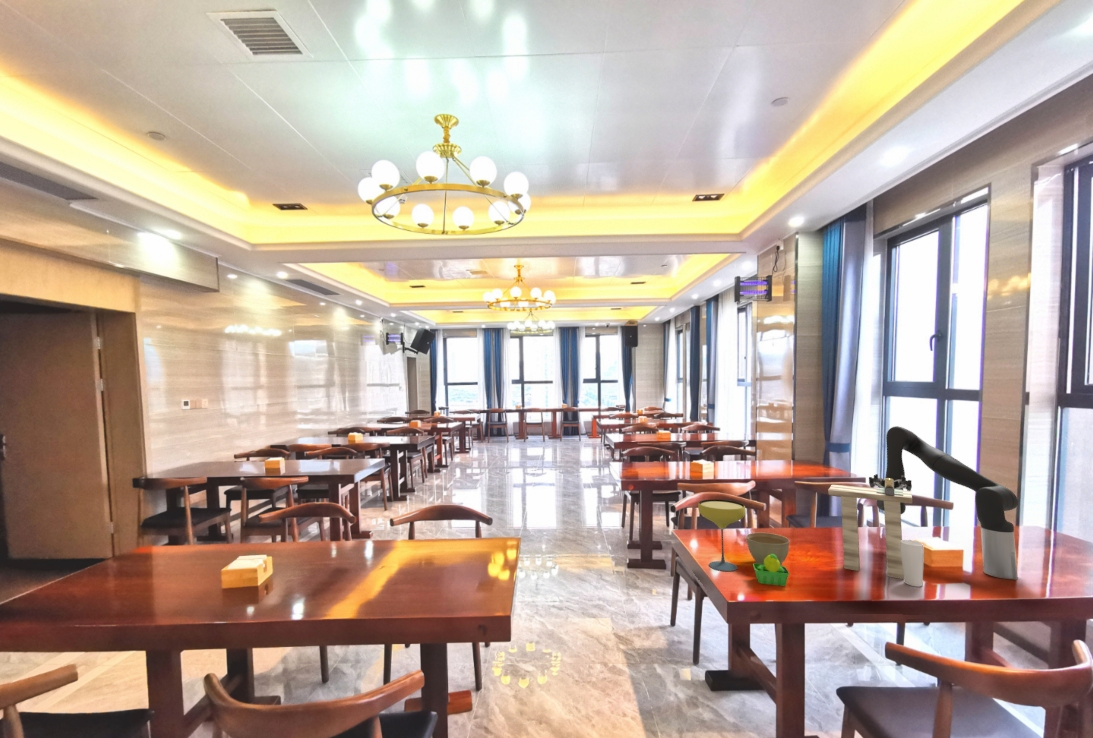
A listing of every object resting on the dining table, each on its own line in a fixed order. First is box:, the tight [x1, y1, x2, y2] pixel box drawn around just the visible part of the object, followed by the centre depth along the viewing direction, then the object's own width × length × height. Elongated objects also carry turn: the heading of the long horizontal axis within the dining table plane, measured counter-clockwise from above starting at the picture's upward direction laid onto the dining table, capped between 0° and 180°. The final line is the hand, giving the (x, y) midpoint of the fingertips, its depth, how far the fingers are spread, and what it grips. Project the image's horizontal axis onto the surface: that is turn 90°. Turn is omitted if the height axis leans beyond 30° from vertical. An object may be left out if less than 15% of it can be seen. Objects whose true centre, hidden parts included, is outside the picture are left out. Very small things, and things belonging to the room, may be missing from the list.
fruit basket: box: [752, 554, 790, 587], centre depth 172 cm, size 11×9×11 cm
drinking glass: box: [900, 539, 925, 588], centre depth 169 cm, size 7×7×15 cm
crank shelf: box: [827, 484, 913, 580], centre depth 179 cm, size 14×26×32 cm, turn 53°
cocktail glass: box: [697, 499, 746, 572], centre depth 189 cm, size 18×18×25 cm
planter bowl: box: [745, 532, 790, 566], centre depth 190 cm, size 16×16×11 cm
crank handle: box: [884, 478, 894, 495], centre depth 180 cm, size 22×3×6 cm, turn 143°
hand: (889, 477), depth 189 cm, fingers open, 8 cm apart
